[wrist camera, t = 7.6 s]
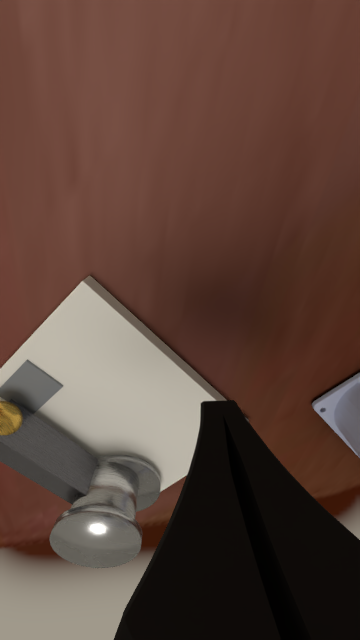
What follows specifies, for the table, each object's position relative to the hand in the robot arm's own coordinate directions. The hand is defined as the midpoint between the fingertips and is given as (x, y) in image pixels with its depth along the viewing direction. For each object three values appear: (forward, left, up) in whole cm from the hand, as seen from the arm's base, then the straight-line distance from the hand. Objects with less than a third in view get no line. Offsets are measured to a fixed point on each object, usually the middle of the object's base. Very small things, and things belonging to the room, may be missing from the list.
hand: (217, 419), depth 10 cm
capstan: (-1, +15, -8) cm, 17 cm away
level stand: (-1, +12, -9) cm, 15 cm away
